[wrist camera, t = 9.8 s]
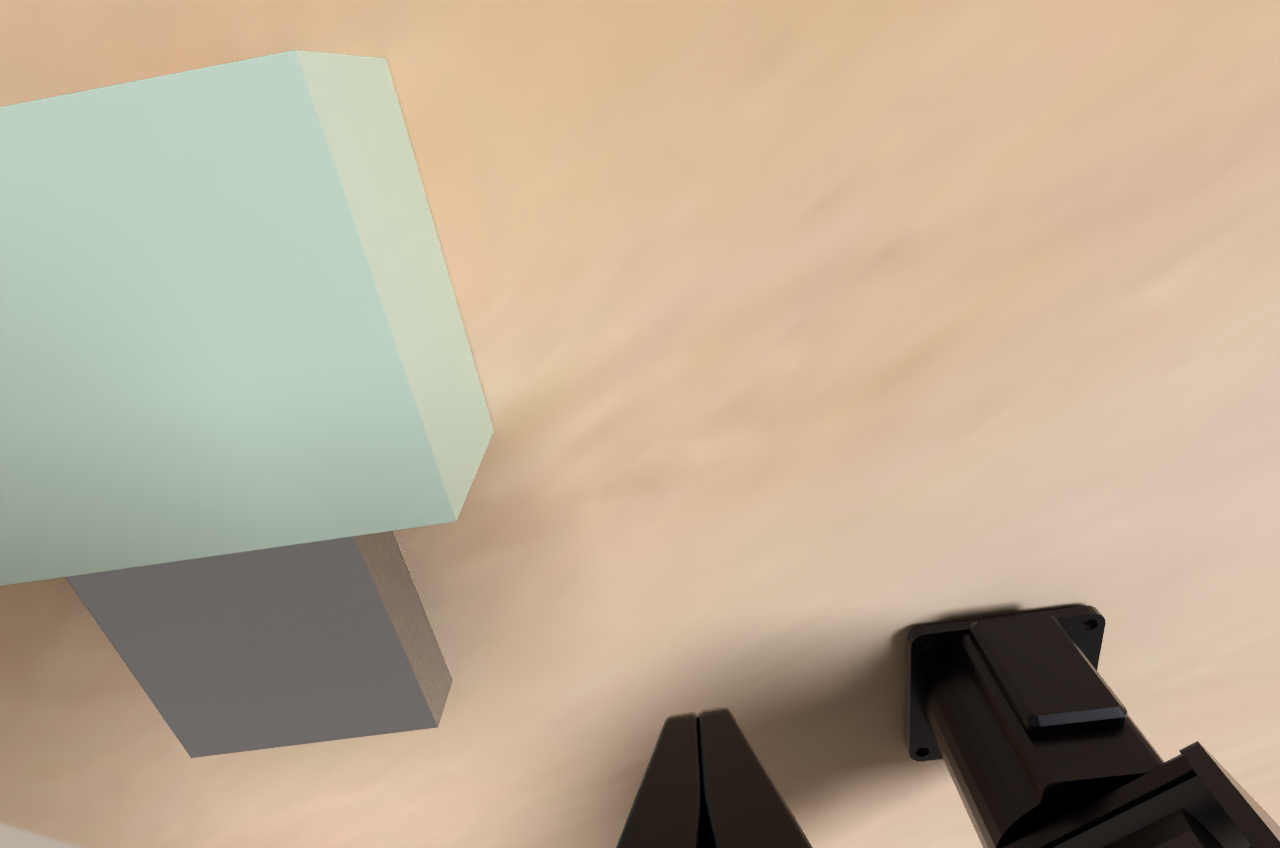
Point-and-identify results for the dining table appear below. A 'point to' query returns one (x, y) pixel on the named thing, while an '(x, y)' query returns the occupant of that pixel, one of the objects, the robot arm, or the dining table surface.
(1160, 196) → the dining table surface
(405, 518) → the pale mint green box
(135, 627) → the grey flat block
